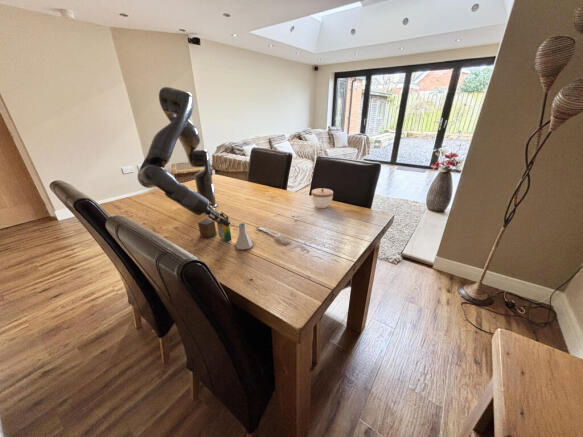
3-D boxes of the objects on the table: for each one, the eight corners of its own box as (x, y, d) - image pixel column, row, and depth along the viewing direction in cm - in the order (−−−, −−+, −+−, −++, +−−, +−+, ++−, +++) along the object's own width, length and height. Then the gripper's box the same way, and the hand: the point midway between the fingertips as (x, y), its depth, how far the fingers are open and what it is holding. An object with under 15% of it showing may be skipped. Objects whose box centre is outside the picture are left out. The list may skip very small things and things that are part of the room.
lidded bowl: (308, 208, 137) (308, 190, 132) (314, 201, 147) (315, 184, 143) (329, 211, 132) (330, 192, 128) (334, 203, 143) (335, 186, 138)
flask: (236, 241, 103) (234, 221, 99) (253, 240, 104) (251, 220, 99) (234, 250, 97) (231, 229, 92) (252, 249, 97) (250, 228, 93)
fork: (262, 231, 117) (261, 226, 116) (290, 242, 102) (289, 237, 101) (257, 233, 115) (256, 228, 114) (285, 245, 100) (284, 239, 99)
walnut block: (200, 236, 108) (197, 222, 105) (208, 231, 112) (206, 218, 109) (208, 238, 106) (205, 224, 103) (216, 233, 110) (214, 220, 107)
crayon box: (218, 236, 106) (214, 212, 101) (224, 234, 108) (221, 211, 103) (225, 242, 101) (222, 218, 96) (231, 240, 103) (228, 216, 98)
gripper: (203, 199, 86) (236, 220, 96) (195, 189, 97) (226, 209, 107) (190, 215, 85) (225, 234, 96) (184, 203, 97) (216, 222, 107)
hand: (225, 221), depth 102 cm, fingers closed on crayon box, 7 cm apart
